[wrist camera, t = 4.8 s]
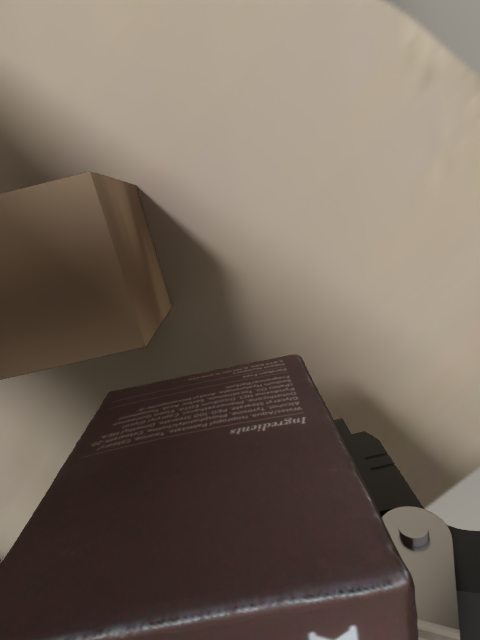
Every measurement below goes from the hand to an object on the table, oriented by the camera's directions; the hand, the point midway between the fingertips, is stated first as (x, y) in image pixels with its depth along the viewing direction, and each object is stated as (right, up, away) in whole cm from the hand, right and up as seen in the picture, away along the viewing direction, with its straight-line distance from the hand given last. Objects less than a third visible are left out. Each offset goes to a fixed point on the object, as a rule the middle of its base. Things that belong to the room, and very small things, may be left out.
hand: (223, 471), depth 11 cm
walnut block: (-5, +7, +4) cm, 10 cm away
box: (0, 0, +1) cm, 1 cm away
